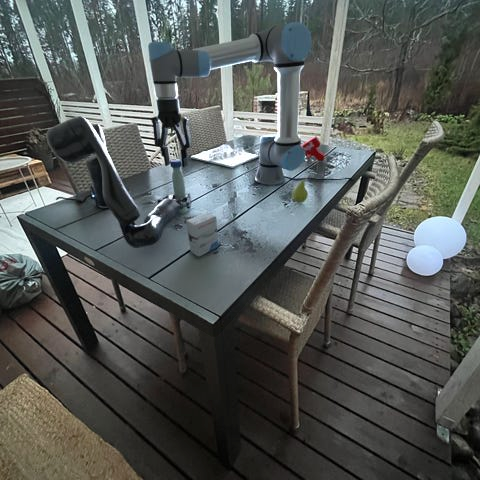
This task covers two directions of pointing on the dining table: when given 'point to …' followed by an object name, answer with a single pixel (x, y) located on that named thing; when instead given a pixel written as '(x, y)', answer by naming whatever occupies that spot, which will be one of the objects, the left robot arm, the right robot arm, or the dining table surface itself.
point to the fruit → (300, 192)
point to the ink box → (202, 233)
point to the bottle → (179, 186)
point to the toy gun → (313, 149)
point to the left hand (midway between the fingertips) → (182, 194)
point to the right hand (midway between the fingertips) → (176, 165)
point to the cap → (175, 163)
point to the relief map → (225, 156)
